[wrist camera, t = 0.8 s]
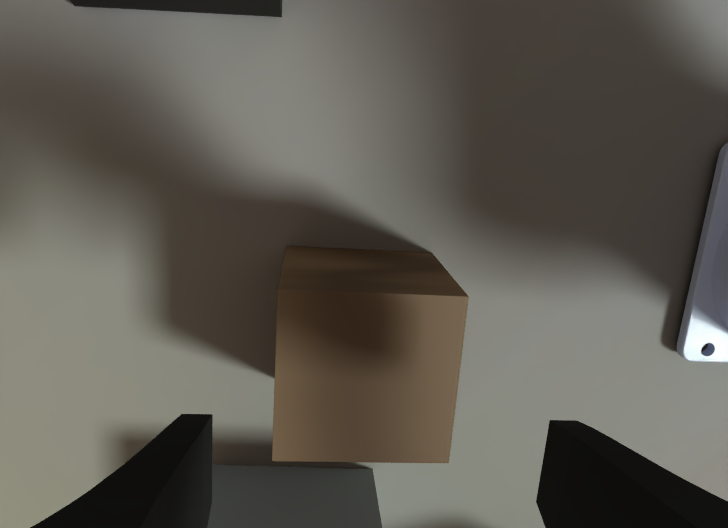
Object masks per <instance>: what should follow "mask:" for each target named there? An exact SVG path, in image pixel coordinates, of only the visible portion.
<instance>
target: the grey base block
mask: <svg viewBox="0 0 728 528" xmlns="http://www.w3.org/2000/svg"><path fill="white" fill-rule="evenodd" d="M207 528H382V524H381V518H380V512H379V506H378V500H377V494H376V487H375V481H374V475H373V469H359V468H322V467H285V466H248V465H212V504H211V510H210V515H209V521H208V526H207Z"/></svg>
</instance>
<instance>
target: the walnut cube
mask: <svg viewBox="0 0 728 528" xmlns="http://www.w3.org/2000/svg"><path fill="white" fill-rule="evenodd" d="M468 298H469V297H468V295H467V294H466V293H465V292H464V291H463V289H462V288H461V287H460V286H459V285H458V283H457V282H456V281H455V280H454V279H453V277H452V276H451V275H450V274H449V273H448V271H447V270H446V269H445V268H444V267H443V266H442V264H441V263H440V262H439V261H438V260H437V258H436V257H435V256H434V255H433V254H432V253H426V252H405V251H384V250H363V249H342V248H321V247H300V246H286V251H285V256H284V260H283V265H282V270H281V275H280V280H279V285H278V296H277V326H276V357H275V387H274V418H273V448H272V461H301V462H391V463H449V456H450V448H451V440H452V431H453V423H454V415H455V406H456V398H457V390H458V381H459V373H460V364H461V356H462V348H463V339H464V331H465V323H466V314H467V306H468Z"/></svg>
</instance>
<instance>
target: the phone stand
mask: <svg viewBox="0 0 728 528" xmlns="http://www.w3.org/2000/svg"><path fill="white" fill-rule="evenodd" d="M70 1H71V2H72V4H73V5H74V6H83V7H102V8H121V9H140V10H159V11H178V12H197V13H216V14H235V15H254V16H272V17H282V0H70Z"/></svg>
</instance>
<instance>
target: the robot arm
mask: <svg viewBox="0 0 728 528" xmlns="http://www.w3.org/2000/svg"><path fill="white" fill-rule="evenodd" d="M707 343H708V346H707V348H706V349H705V350H704V351H702V352H701V349H702V347H703V346H704V345H705V344H707ZM677 352H678V354H679V355H680V356H681V357H683V358H684V359H686V360H688V361H696V362H728V143H726V144H725V145H724V146H723V147H722V148H721V150H720V153H719V156H718V161H717V165H716V170H715V174H714V179H713V184H712V188H711V193H710V197H709V202H708V206H707V211H706V215H705V220H704V224H703V229H702V233H701V238H700V242H699V247H698V251H697V256H696V260H695V265H694V269H693V274H692V278H691V283H690V287H689V292H688V296H687V301H686V305H685V310H684V314H683V319H682V323H681V328H680V332H679V337H678V342H677ZM536 502H537V505H538V508H539V511H540V513H541V516H542V519H543V522H544V524H545V527H546V528H728V501H725V500H723V499H721V498H719V497H717V496H715V495H713V494H711V493H709V492H707V491H705V490H704V489H702V488H700V487H698V486H696V485H694V484H692V483H690V482H688V481H686V480H684V479H682V478H681V477H679V476H677V475H675V474H673V473H671V472H670V471H668V470H666V469H664V468H662V467H661V466H659V465H657V464H655V463H654V462H652V461H650V460H648V459H647V458H645V457H643V456H641V455H640V454H638V453H636V452H634V451H633V450H631V449H629V448H627V447H626V446H624V445H622V444H620V443H619V442H617V441H615V440H614V439H612V438H610V437H608V436H606V435H605V434H603V433H601V432H599V431H597V430H595V429H593V428H592V427H590V426H587V425H585V424H583V423H581V422H579V421H562V420H550V423H549V429H548V435H547V441H546V447H545V453H544V459H543V464H542V470H541V476H540V482H539V488H538V494H537V500H536ZM211 504H212V415H210V414H181V415H180V416H179V417H178V418H177V419H176V420H174V421H173V422H172V423H171V424H170V425H169V426H168V427H166V428H165V429H164V430H163V431H162V432H161V433H160V434H159V435H157V436H156V437H155V438H154V439H153V440H152V441H151V442H150V443H148V444H147V445H146V446H145V447H144V448H143V449H142V450H140V451H139V452H138V453H137V454H136V455H134V456H133V457H132V458H131V459H130V460H129V461H127V462H126V463H125V464H124V465H123V466H121V467H120V468H119V469H117V470H116V471H115V472H113V473H112V474H111V475H109V476H108V477H107V478H105V479H104V480H103V481H101V482H100V483H99V484H98V485H96V486H95V487H94V488H92V489H91V490H90V491H88V492H87V493H85V494H84V495H82V496H81V497H79V498H78V499H76V500H75V501H73V502H72V503H70V504H69V505H67V506H66V507H64V508H62V509H61V510H59V511H58V512H56V513H54V514H53V515H51V516H50V517H48V518H46V519H45V520H43V521H41V522H40V523H38V524H36V525H34V526H33V527H31V528H207V526H208V521H209V515H210V510H211Z"/></svg>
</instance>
